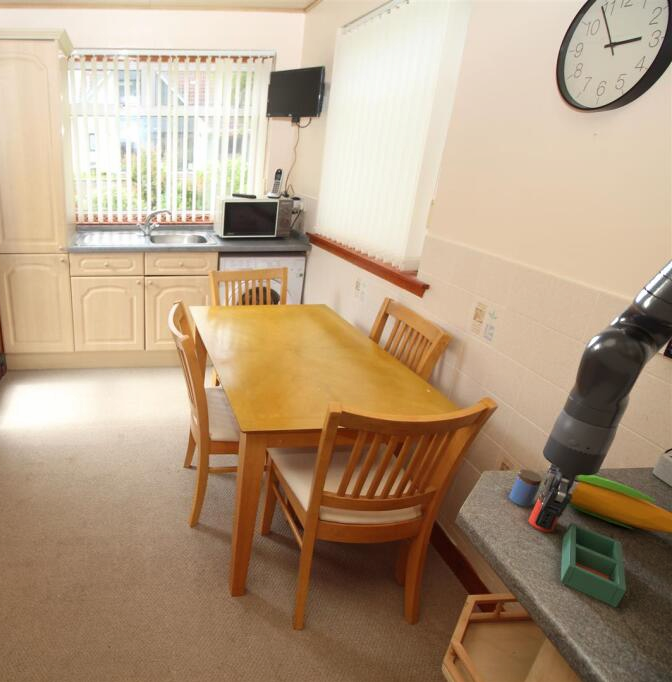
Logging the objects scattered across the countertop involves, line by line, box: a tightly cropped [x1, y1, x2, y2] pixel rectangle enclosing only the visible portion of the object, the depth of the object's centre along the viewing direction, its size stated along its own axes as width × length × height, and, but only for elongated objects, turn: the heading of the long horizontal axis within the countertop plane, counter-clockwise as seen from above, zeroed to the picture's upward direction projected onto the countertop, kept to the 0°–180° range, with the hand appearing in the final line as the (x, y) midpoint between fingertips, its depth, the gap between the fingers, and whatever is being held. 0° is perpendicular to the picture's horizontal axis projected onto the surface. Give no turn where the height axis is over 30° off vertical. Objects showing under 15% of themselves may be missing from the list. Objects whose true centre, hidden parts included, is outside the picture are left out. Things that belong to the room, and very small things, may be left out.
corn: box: [567, 473, 672, 534], centre depth 87 cm, size 7×8×20 cm
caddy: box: [560, 521, 627, 608], centre depth 76 cm, size 7×12×4 cm, turn 140°
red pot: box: [528, 491, 560, 533], centre depth 85 cm, size 4×4×6 cm
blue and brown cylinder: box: [508, 468, 543, 508], centre depth 91 cm, size 4×4×6 cm
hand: (543, 519), depth 85 cm, fingers closed on red pot, 3 cm apart
